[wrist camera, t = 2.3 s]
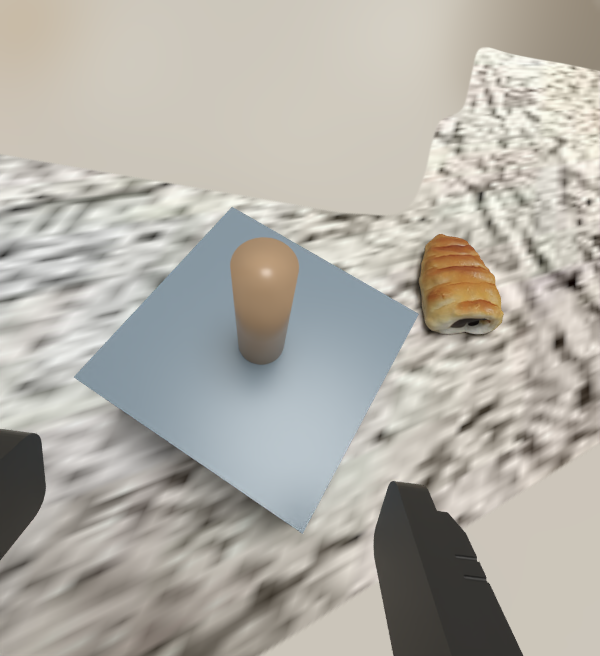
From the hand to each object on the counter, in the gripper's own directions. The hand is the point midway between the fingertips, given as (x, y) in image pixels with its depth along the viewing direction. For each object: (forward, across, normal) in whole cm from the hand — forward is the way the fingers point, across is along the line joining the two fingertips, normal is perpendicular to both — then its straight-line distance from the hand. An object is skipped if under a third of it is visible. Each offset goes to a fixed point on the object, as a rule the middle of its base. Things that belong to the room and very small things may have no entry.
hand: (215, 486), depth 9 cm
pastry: (+26, -15, +1) cm, 30 cm away
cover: (+18, 0, +7) cm, 20 cm away
